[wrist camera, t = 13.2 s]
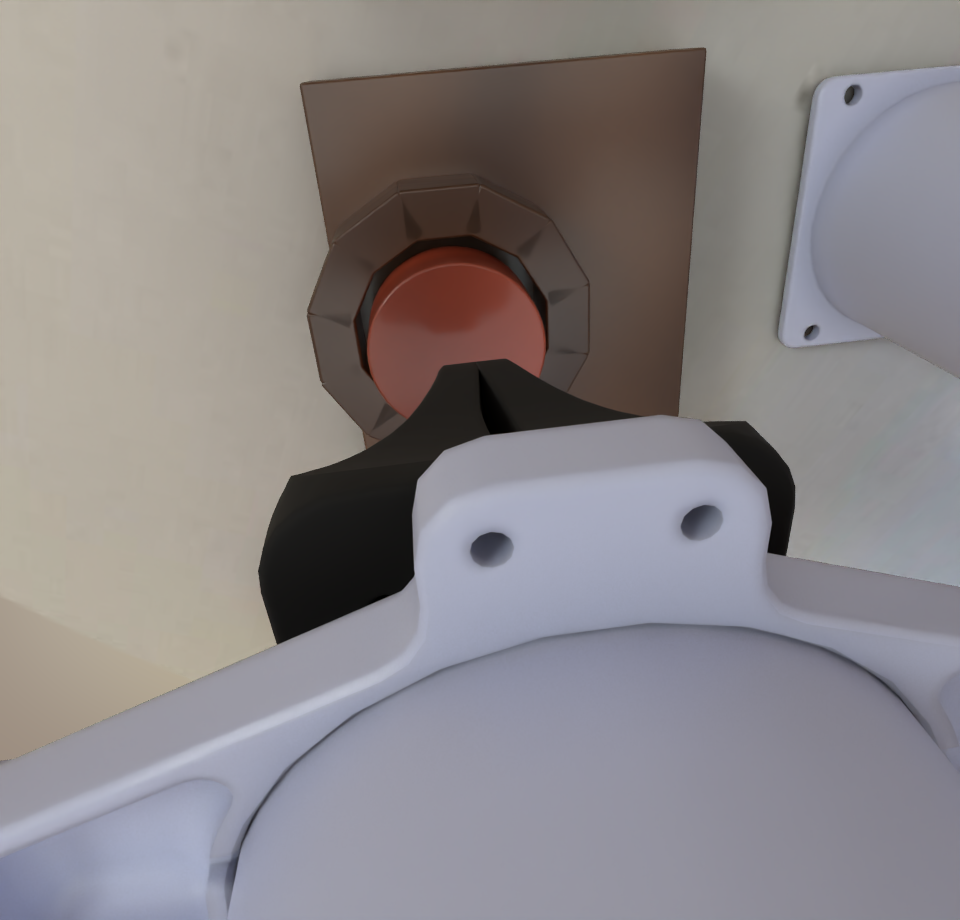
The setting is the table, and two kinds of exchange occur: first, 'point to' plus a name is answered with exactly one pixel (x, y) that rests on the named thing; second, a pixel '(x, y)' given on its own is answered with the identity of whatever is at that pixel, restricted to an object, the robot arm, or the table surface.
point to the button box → (517, 210)
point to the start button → (448, 322)
